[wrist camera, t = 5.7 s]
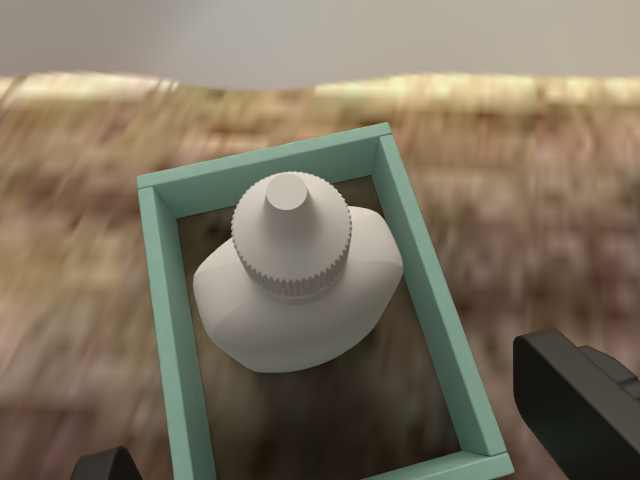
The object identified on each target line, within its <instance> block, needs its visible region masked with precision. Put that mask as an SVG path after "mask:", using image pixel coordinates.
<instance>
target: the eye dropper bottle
mask: <svg viewBox="0 0 640 480" xmlns="http://www.w3.org/2000/svg"><path fill="white" fill-rule="evenodd" d="M242 197H243V198H241V199H240V200H239V202H240V203H238V204H237V205H236V207H237V208H236V209H235V210H234V213H235V214H234V215H233V216H232V218H233V220H232V222H231V223H232V227H231V230H232V233H231V235H232V238H230V239H229V240H228V241H226V242H225V243H224V244H222V245H221V246H220V247H219V248H217V249H216V250H215V251H214V252H213V253H212V254H211V255H210V256H209V257H208V258H207V259H206V260H205V261H204V262H203V263H202V264H201V265H200V266H199V268H198V269H197V271H196V273H195V275H194V279H193V290H194V294H195V299H196V303H197V306H198V310H199V314H200V317H201V320H202V323H203V326H204V329H205V331H206V333H207V334H208V336H209V337H210V339H211V340H212V342H213V343H214V344H215V345H217V346H218V347H219V348H220V349H221V350H223V351H224V352H225V353H227V354H228V355H229V356H231V357H232V358H234V359H235V360H236V361H238V362H239V363H241V364H242V365H243V366H245V367H246V368H248V369H250V370H252V371H255V372H262V373H283V372H292V371H299V370H303V369H307V368H311V367H314V366H317V365H320V364H323V363H325V362H328V361H330V360H332V359H334V358H336V357H338V356H339V355H341V354H343V353H345V352H346V351H348V350H349V349H351V348H352V347H353V346H355V345H356V344H357V343H359V342H360V341H361V340H362V339H363V338H364V337H366V336H367V335H368V334H369V333H370V332H371V330H372V329H373V328H374V327H375V326H376V324H377V322H378V320H379V319H380V317H381V315H382V314H383V312H384V310H385V308H386V307H387V305H388V303H389V301H390V299H391V298H392V296H393V294H394V292H395V290H396V288H397V286H398V284H399V282H400V279H401V277H402V275H403V261H402V258H401V255H400V252H399V249H398V247H397V245H396V242H395V240H394V238H393V236H392V233H391V231H390V229H389V227H388V226H387V224H386V222H385V220H384V219H383V218H382V217H381V216H380V215H379V214H378V213H377V212H374V211H372V210H370V209H366V208H360V207H353V206H348V204H346V203H345V199H344V198H342V194H340V193H338V190H337V189H334V186H332V185H329V182H325V181H324V179H320V178H319V177H318V176H314V175H313V174H310V175H309V174H308V173H302V172H296V171H295V172H290V171H289V172H282V173H277V174H275V175H271V176H270V177H265V179H262V180H260V181H259V182H257V183H255V185H254V186H251V187H250V189H249V190H247V191H246V194H244V195H242Z"/></svg>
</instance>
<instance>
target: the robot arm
mask: <svg viewBox="0 0 640 480" xmlns="http://www.w3.org/2000/svg"><path fill="white" fill-rule="evenodd" d="M513 391H514V398H515V402H516V405H517V408H518V410H519V413H520V415H521V417H522V418H523V420H524V422H525V423H526V424H527V426H528V427H529V428H530V430H531V431H532V432H533V433H534V435H535V436H536V437H537V439H538V440H539V441H540V442H541V444H542V445H543V446H544V448H545V449H546V450H547V451H548V453H549V454H550V455H551V457H552V458H553V459H554V460H555V462H556V463H557V464H558V466H559V467H560V468H561V469H562V471H563V472H564V473H565V475H566V476H567V477H568V478H569V480H640V381H639V380H638V378H637V376H636V375H635V374H633V373H632V372H631V371H630V370H628V369H627V368H626V367H625V366H624V365H622V364H621V363H620V362H619V361H618V360H616V359H615V358H613V357H611V356H609V355H607V354H605V353H602V352H600V351H598V350H596V349H594V348H592V347H589V346H587V345H585V346H581V347H576V346H575V345H574V344H573V343H572V342H571V341H570V340H569V339H567V338H566V337H565V336H564V335H563V334H562V333H561V332H559V331H558V330H557V329H555V328H547V329H543V330H539V331H536V332H532V333H528V334H525V335H521V336H517V337H516V338H515V339H514V342H513ZM70 480H143V479H142V477H141V475H140V473H139V471H138V469H137V467H136V465H135V463H134V461H133V459H132V457H131V455H130V453H129V451H128V450H127V448H125V447H124V446H119V447H115V448H112V449H108V450H104V451H101V452H97V453H93V454H90V455H86V456H83V457H81V458H80V459H79V460H78V461H77V463H76V465H75V468H74V471H73V473H72V476H71V479H70Z"/></svg>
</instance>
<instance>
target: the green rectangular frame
mask: <svg viewBox="0 0 640 480" xmlns="http://www.w3.org/2000/svg"><path fill="white" fill-rule="evenodd" d="M289 171H290V172H295V171H296V172H302V173H308V174H309V175H310V174H313V175H314V176H318V177H319V178H320V179H324V181H325V182H329V184H332V183H337V182H341V181H345V180H350V179H354V178H359V177H363V176H368V175H371V177H372V180H373V183H374V186H375V189H376V193H377V196H378V199H379V202H380V205H381V208H382V211H383V214H384V217H385V220H386V223H387V226H388V227H389V229H390V231H391V233H392V236H393V238H394V240H395V242H396V245H397V247H398V249H399V252H400V255H401V258H402V261H403V274H404V277H405V280H406V283H407V287H408V290H409V293H410V296H411V299H412V302H413V305H414V308H415V311H416V314H417V317H418V320H419V323H420V326H421V329H422V332H423V335H424V338H425V341H426V344H427V347H428V350H429V353H430V356H431V359H432V362H433V365H434V368H435V371H436V374H437V377H438V381H439V384H440V387H441V390H442V393H443V396H444V399H445V402H446V405H447V408H448V411H449V414H450V417H451V420H452V423H453V426H454V429H455V432H456V435H457V438H458V441H459V444H460V447H461V449H462V450H463V451H460V452H456V453H453V454H449V455H446V456H442V457H439V458H435V459H432V460H428V461H425V462H421V463H418V464H414V465H411V466H407V467H403V468H400V469H396V470H393V471H389V472H386V473H382V474H379V475H375V476H372V477H368V478H365V479H361V480H492V479H496V478H499V477H502V476H506V475H509V474H513V473H514V468H513V466H512V463H511V460H510V457H509V455H508V453H505V452H507V449H506V447H505V444H504V441H503V438H502V435H501V433H500V430H499V427H498V424H497V422H496V419H495V416H494V413H493V411H492V408H491V405H490V402H489V400H488V397H487V394H486V391H485V388H484V386H483V383H482V380H481V377H480V375H479V372H478V369H477V366H476V364H475V361H474V358H473V355H472V352H471V350H470V347H469V344H468V341H467V339H466V336H465V333H464V330H463V328H462V325H461V322H460V319H459V317H458V314H457V311H456V308H455V305H454V303H453V300H452V297H451V294H450V292H449V289H448V286H447V283H446V281H445V278H444V275H443V272H442V270H441V267H440V264H439V261H438V258H437V256H436V253H435V250H434V247H433V245H432V242H431V239H430V236H429V234H428V231H427V228H426V225H425V222H424V220H423V217H422V214H421V211H420V209H419V206H418V203H417V200H416V198H415V195H414V192H413V189H412V187H411V184H410V181H409V178H408V175H407V173H406V170H405V167H404V164H403V162H402V159H401V156H400V153H399V151H398V148H397V145H396V142H395V139H394V137H393V135H392V131H391V128H390V126H389V123H388V122H386V123H381V124H376V125H372V126H367V127H363V128H358V129H353V130H349V131H344V132H339V133H335V134H330V135H326V136H321V137H316V138H312V139H307V140H302V141H298V142H293V143H288V144H284V145H279V146H275V147H270V148H265V149H261V150H256V151H251V152H247V153H242V154H238V155H233V156H228V157H224V158H219V159H214V160H210V161H205V162H201V163H196V164H191V165H187V166H182V167H177V168H173V169H168V170H164V171H159V172H154V173H150V174H145V175H140V176H137V177H136V181H137V189H138V197H139V205H140V213H141V221H142V229H143V236H144V244H145V252H146V260H147V268H148V276H149V284H150V292H151V300H152V308H153V315H154V323H155V331H156V339H157V347H158V355H159V363H160V371H161V379H162V387H163V394H164V402H165V410H166V418H167V426H168V434H169V442H170V450H171V458H172V466H173V473H174V480H217V477H216V471H215V464H214V458H213V452H212V445H211V439H210V432H209V426H208V419H207V413H206V407H205V400H204V394H203V387H202V381H201V374H200V368H199V362H198V355H197V349H196V342H195V336H194V330H193V323H192V317H191V310H190V304H189V297H188V291H187V285H186V278H185V272H184V265H183V259H182V252H181V246H180V240H179V233H178V227H177V220H176V219H177V218H182V217H186V216H190V215H195V214H199V213H204V212H208V211H213V210H217V209H221V208H226V207H230V206H235V205H237V204H238V203H240V202H239V200H240V199H241V198H243V197H242V195H244V194H246V191H247V190H249V189H250V187H251V186H254V185H255V183H257V182H259V181H260V180H262V179H265V177H270V176H271V175H275V174H277V173H282V172H289Z"/></svg>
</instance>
